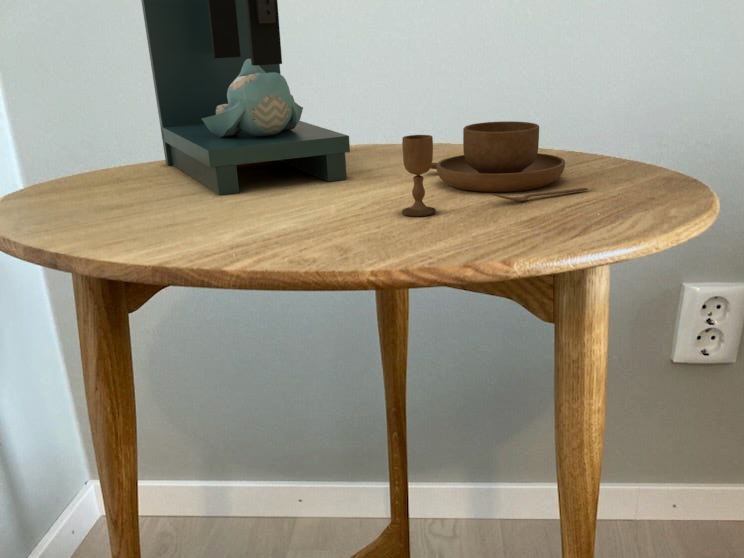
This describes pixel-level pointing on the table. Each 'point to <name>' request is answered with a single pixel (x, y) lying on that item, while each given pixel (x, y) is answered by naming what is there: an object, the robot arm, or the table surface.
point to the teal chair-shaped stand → (220, 103)
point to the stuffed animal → (255, 105)
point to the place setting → (485, 162)
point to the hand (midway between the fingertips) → (245, 61)
